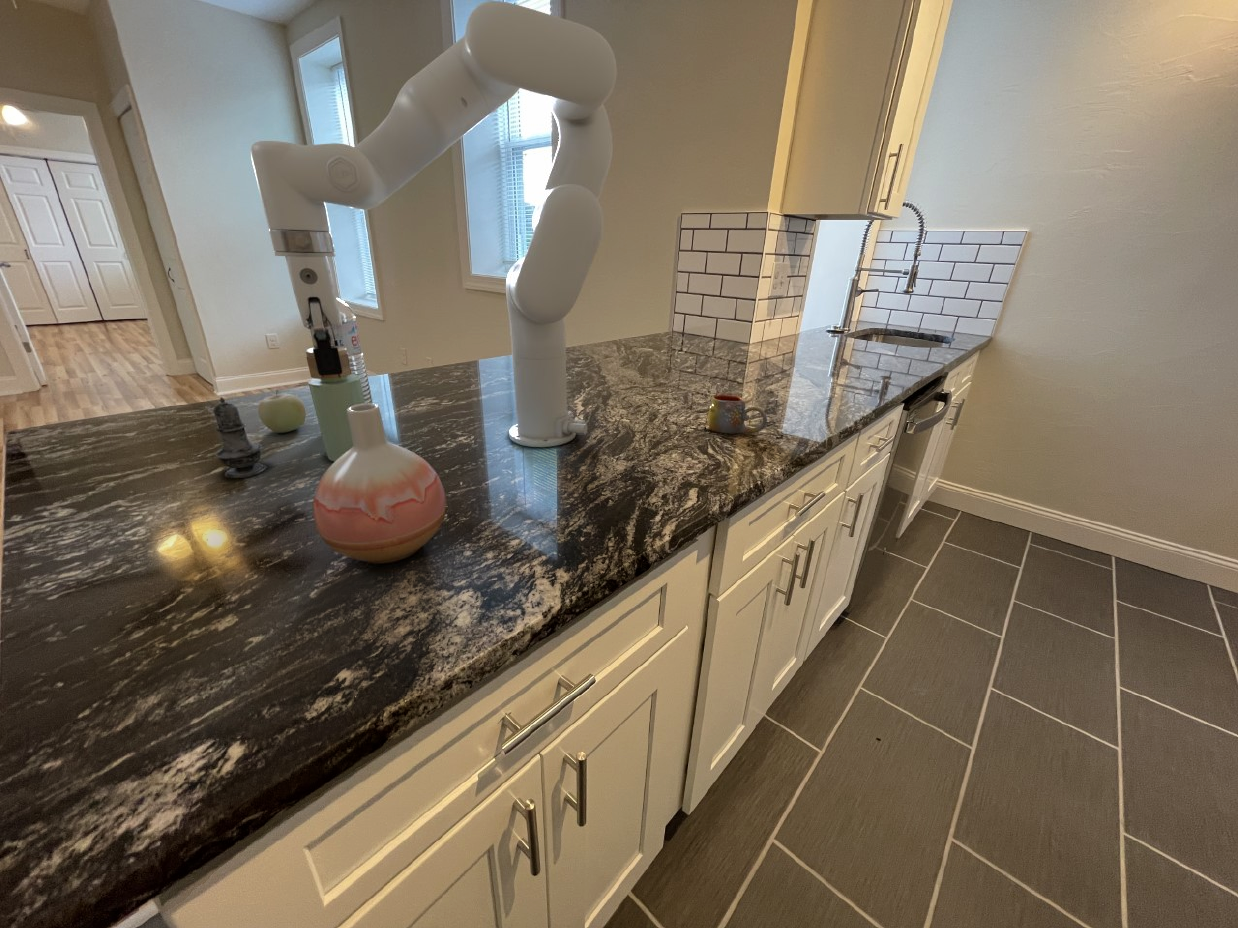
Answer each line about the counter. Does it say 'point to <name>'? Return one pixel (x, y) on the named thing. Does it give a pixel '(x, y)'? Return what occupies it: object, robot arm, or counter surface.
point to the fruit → (282, 412)
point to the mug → (731, 415)
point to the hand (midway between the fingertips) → (330, 368)
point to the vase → (377, 496)
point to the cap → (314, 374)
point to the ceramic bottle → (335, 410)
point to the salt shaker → (236, 443)
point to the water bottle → (352, 346)
